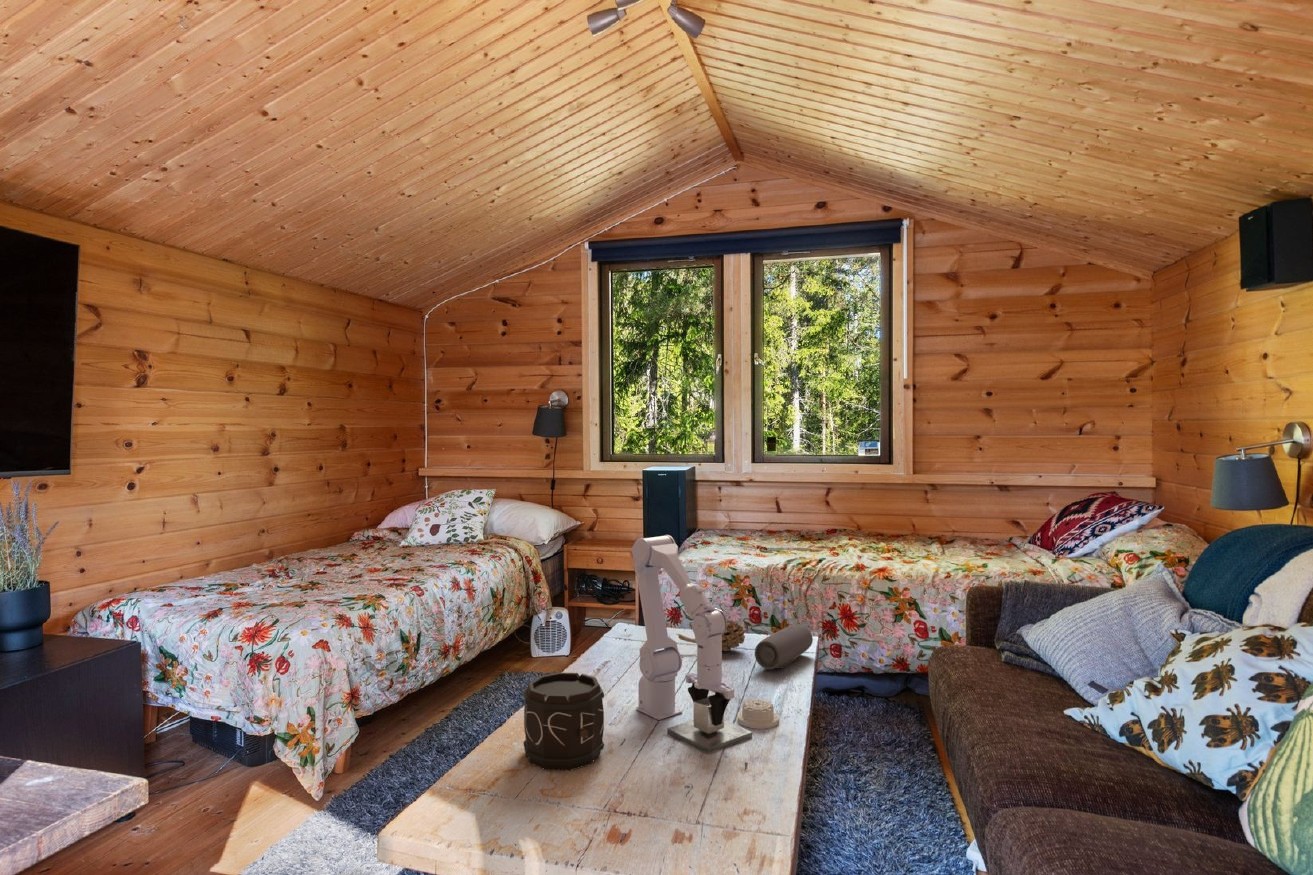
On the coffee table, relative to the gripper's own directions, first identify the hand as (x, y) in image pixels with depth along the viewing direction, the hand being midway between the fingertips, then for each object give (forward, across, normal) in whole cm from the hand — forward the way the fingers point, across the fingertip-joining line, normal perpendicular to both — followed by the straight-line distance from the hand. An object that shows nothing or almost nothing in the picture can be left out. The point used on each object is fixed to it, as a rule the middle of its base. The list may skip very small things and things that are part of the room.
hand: (709, 720), depth 178 cm
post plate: (+3, 0, 0) cm, 3 cm away
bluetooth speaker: (+4, -25, +54) cm, 59 cm away
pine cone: (+4, -47, +44) cm, 64 cm away
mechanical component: (+4, +1, +15) cm, 16 cm away
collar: (+2, 0, 0) cm, 2 cm away
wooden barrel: (+4, -12, -32) cm, 34 cm away
